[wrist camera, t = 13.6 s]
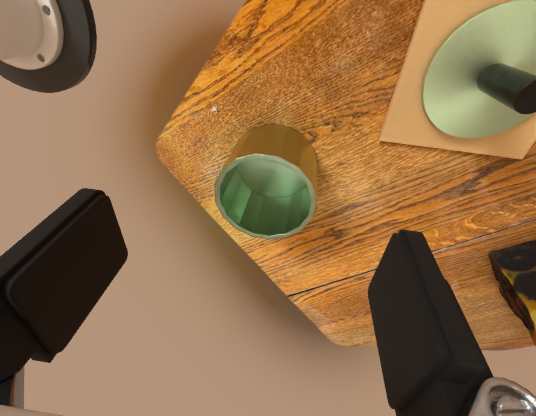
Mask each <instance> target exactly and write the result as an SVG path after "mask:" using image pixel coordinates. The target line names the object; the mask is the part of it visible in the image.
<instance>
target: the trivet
mask: <svg viewBox="0 0 536 416" xmlns="http://www.w3.org/2000/svg"><path fill="white" fill-rule="evenodd" d="M507 1H513V0H424V2H423V5H422V8H421V11H420V14H419V17H418V20H417V23H416V26H415V29H414V32H413V35H412V38H411V41H410V44H409V47H408V50H407V53H406V56H405V59H404V62H403V65H402V68H401V71H400V74H399V77H398V80H397V83H396V86H395V89H394V92H393V95H392V98H391V101H390V104H389V107H388V110H387V113H386V116H385V120H384V123H383V126H382V129H381V132H380V135H379V138H378V140H379V141H385V142H393V143H400V144H408V145H416V146H424V147H431V148H439V149H447V150H454V151H462V152H470V153H477V154H485V155H493V156H500V157H508V158H516V159H523V158H524V156H525V155H526V153H527V152H528V150H529V149H530V148H531V146H532V145H533V143H534V142H535V140H536V112H535V113H534V114H533V115H532V116H530V117H529V118H527V119H526V120H525V121H523V122H521V123H520V124H518V125H516V126H514V127H512V128H510V129H508V130H506V131H504V132H501V133H498V134H495V135H491V136H487V137H481V138H460V137H454V136H451V135H448V134H446V133H444V132H442V131H441V130H439V129H438V128H437V127H436V126H435V125H434V124H433V123H432V122H431V121H430V120H429V118H428V117H427V115H426V113H425V110H424V108H423V104H422V95H421V94H422V84H423V78H424V75H425V72H426V69H427V67H428V65H429V63H430V60H431V59H432V57H433V55H434V54H435V52H436V51H437V49H438V48H439V46H440V45H441V44H442V42H443V41H444V40H445V39H446V38H447V37H448V36H449V35H450V34H451V33H452V32H453V31H454V30H455V29H456V28H457V27H458V26H459V25H461V24H462V23H463V22H465V21H466V20H467V19H469V18H470V17H472V16H473V15H475V14H477V13H478V12H480V11H482V10H484V9H486V8H489V7H491V6H494V5H496V4H500V3H503V2H507Z"/></svg>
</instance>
